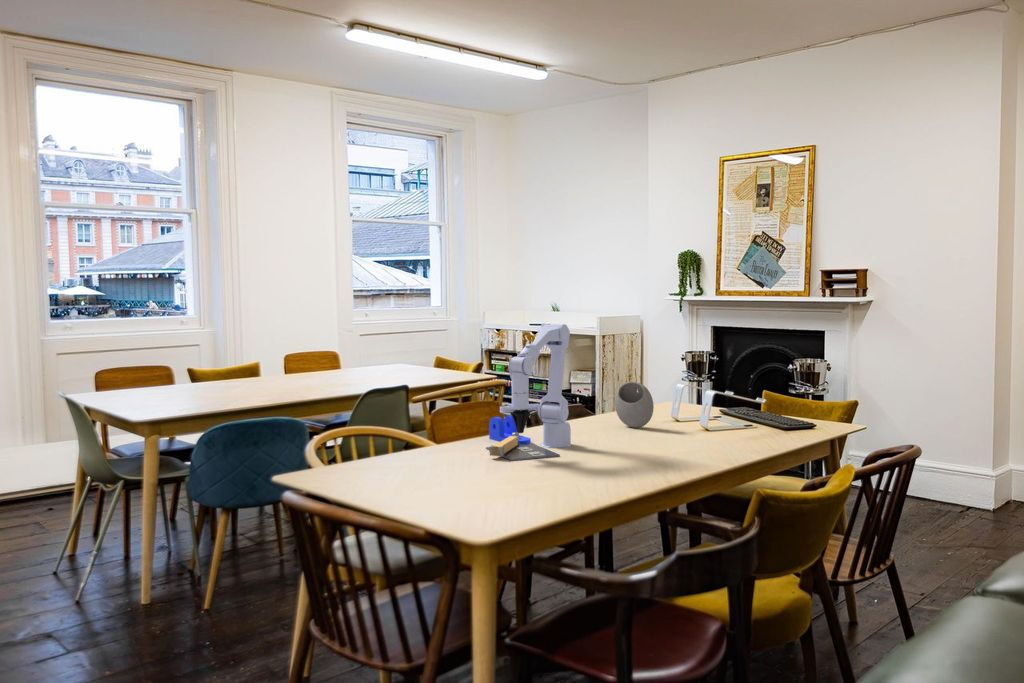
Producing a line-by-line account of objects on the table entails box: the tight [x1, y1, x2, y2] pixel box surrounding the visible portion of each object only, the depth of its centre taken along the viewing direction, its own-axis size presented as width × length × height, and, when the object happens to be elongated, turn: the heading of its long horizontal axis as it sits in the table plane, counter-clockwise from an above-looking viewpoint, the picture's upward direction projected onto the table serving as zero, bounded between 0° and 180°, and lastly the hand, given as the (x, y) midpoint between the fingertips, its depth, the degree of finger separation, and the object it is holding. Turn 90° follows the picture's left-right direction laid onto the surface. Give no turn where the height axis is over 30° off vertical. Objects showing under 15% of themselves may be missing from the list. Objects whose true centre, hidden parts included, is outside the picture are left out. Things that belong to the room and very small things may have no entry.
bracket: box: [488, 414, 531, 444], centre depth 306 cm, size 18×8×9 cm, turn 34°
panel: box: [485, 432, 561, 462], centre depth 284 cm, size 18×22×6 cm
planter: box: [614, 381, 654, 429], centre depth 335 cm, size 18×7×19 cm, turn 46°
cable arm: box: [489, 436, 518, 457], centre depth 283 cm, size 20×4×3 cm, turn 163°
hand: (520, 432), depth 278 cm, fingers closed
